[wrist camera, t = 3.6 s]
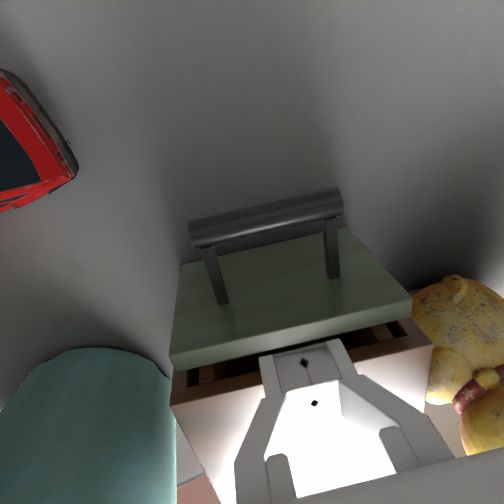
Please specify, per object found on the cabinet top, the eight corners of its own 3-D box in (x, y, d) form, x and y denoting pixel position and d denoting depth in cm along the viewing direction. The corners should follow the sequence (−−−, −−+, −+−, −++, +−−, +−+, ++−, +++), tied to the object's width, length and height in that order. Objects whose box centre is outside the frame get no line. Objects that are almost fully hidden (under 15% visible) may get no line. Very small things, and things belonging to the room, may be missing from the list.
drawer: (154, 195, 18) (124, 266, 12) (344, 152, 19) (422, 197, 12) (227, 391, 28) (233, 493, 21) (353, 361, 28) (400, 453, 21)
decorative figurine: (374, 351, 29) (510, 578, 16) (366, 282, 25) (540, 512, 12) (478, 321, 29) (702, 527, 16) (487, 245, 24) (803, 440, 11)
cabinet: (182, 285, 23) (168, 406, 15) (352, 245, 23) (433, 343, 15) (228, 406, 30) (236, 532, 22) (356, 375, 30) (413, 489, 22)
